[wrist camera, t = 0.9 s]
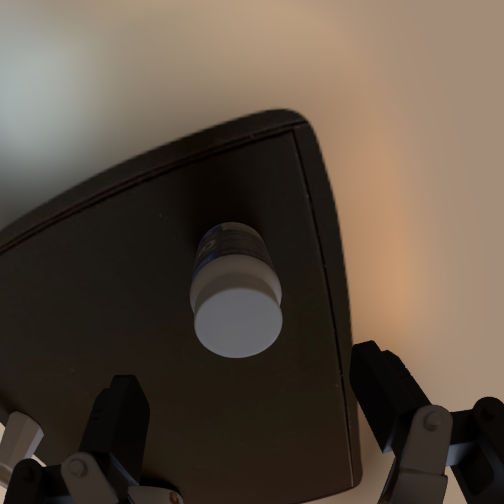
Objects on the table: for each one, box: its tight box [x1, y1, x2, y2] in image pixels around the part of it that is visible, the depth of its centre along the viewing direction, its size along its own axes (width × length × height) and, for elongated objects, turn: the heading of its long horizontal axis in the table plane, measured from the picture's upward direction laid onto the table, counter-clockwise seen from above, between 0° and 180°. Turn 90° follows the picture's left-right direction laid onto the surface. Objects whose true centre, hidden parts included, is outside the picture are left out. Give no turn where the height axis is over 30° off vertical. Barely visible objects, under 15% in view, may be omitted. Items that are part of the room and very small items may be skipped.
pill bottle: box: [190, 222, 282, 358], centre depth 17 cm, size 5×5×8 cm
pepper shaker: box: [0, 411, 44, 489], centre depth 22 cm, size 5×5×11 cm
